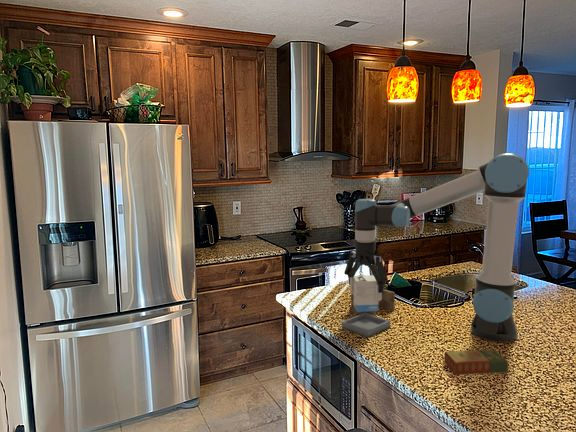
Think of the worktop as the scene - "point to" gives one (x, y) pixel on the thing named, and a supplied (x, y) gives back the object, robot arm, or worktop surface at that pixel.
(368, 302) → the ink box
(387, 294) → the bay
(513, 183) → the robot arm
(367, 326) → the tray
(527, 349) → the worktop surface
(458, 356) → the carton
